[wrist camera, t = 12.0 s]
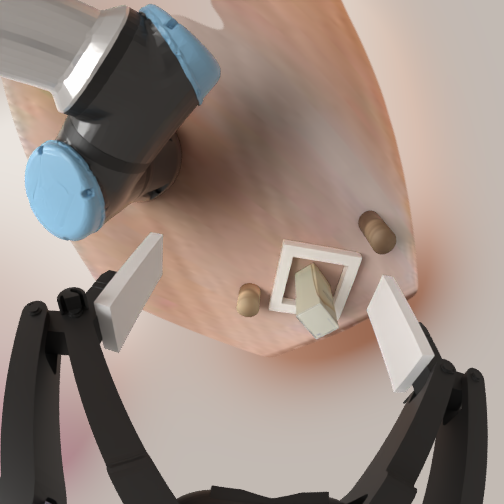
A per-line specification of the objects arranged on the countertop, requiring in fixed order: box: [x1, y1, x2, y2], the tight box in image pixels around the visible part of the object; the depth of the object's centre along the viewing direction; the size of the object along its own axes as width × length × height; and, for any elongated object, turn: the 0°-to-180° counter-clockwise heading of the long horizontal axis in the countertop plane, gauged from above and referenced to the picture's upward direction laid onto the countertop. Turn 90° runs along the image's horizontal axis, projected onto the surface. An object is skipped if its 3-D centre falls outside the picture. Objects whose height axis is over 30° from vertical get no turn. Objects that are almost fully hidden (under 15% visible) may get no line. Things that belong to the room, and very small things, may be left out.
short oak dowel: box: [236, 283, 261, 317], centre depth 53 cm, size 4×4×5 cm
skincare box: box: [295, 263, 339, 339], centre depth 47 cm, size 6×4×12 cm
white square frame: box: [269, 239, 362, 320], centre depth 52 cm, size 14×14×2 cm
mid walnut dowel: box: [358, 211, 396, 254], centre depth 43 cm, size 4×4×8 cm
